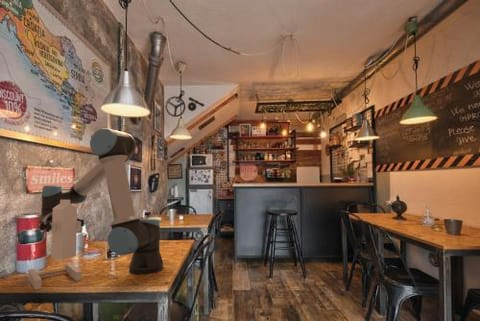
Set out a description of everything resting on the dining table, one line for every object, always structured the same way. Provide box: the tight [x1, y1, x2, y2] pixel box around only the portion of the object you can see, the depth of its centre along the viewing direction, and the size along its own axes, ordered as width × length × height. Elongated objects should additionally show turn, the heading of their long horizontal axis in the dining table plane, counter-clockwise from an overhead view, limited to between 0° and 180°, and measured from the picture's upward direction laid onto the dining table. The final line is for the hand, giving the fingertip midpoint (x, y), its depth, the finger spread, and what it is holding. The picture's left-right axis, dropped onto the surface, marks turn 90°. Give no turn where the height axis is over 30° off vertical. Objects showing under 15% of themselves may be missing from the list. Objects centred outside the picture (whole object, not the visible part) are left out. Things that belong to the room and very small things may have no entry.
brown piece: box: [27, 261, 82, 291], centre depth 125 cm, size 20×16×4 cm
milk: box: [50, 200, 78, 261], centre depth 114 cm, size 6×6×22 cm
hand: (67, 226), depth 110 cm, fingers closed on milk, 8 cm apart
